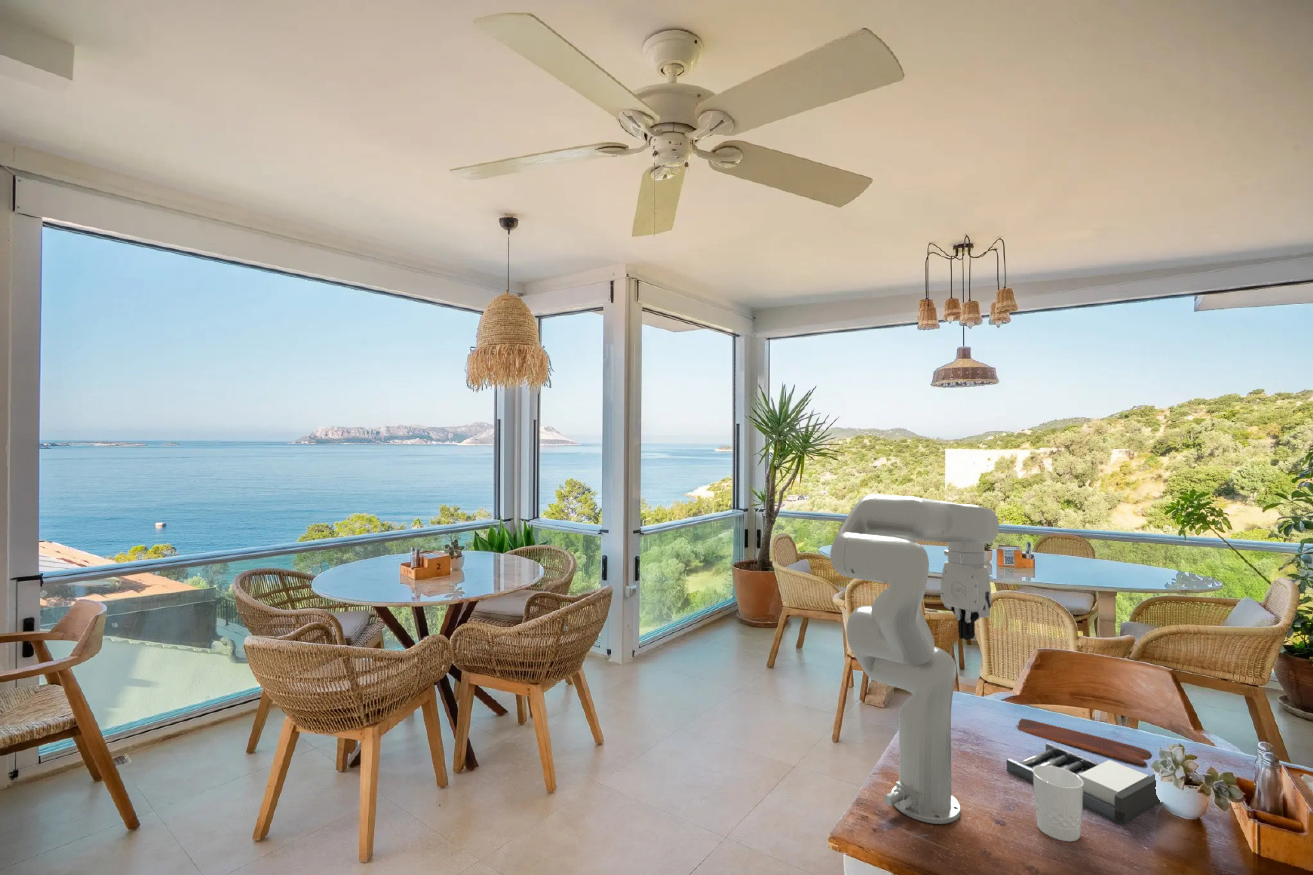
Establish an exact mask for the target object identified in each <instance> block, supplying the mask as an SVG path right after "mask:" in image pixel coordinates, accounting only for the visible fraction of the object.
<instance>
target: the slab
mask: <svg viewBox="0 0 1313 875" xmlns="http://www.w3.org/2000/svg"><path fill="white" fill-rule="evenodd" d="M1099 764H1100V765H1097V766H1095V767H1093V768H1091V769H1089V770H1087V771H1085V772H1083V773H1081V774H1079V775H1078V776H1079V777H1080V778H1081V779H1082V780H1083V782H1084V786H1083V792H1085V793H1087V794H1090V795H1092V796H1094V797H1096V798H1098V799H1100V800H1103V801H1105V802H1107V803H1109V804H1111V805H1114V806H1115V795H1116V794H1118V793H1120V792H1122V791H1124V790H1126V789H1128V788H1130V787H1131V786H1133V785H1135V784H1137V783H1139V782H1141V781H1143V780H1145V779H1146V778H1148V777H1150V775H1148V774H1146V773H1143V772H1141V771H1138V770H1136V769H1133V768H1131V767H1128V766H1126V765H1123V764H1121V763H1119V762H1115V761H1113V760H1111V759H1108V760H1105V761H1104V762H1102V763H1099Z"/></svg>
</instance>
